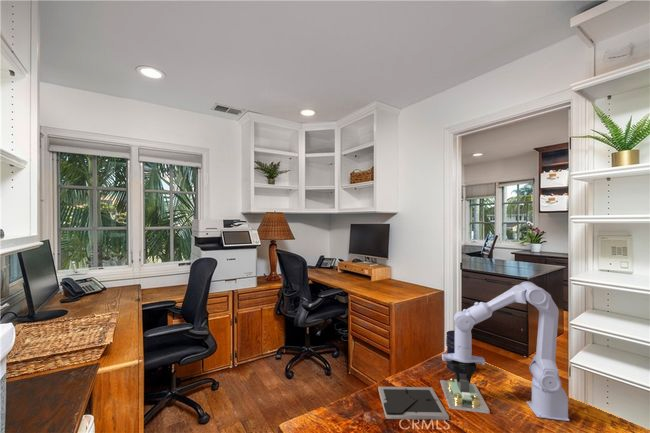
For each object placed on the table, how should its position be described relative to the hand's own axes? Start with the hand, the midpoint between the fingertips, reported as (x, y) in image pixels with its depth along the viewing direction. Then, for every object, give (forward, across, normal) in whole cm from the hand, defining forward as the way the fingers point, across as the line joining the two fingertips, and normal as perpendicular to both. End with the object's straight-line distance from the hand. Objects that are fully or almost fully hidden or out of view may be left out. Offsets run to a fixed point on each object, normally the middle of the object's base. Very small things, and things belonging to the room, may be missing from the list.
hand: (462, 381), depth 106 cm
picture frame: (+7, +20, +8) cm, 22 cm away
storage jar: (+6, -4, -21) cm, 22 cm away
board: (+3, 0, 0) cm, 3 cm away
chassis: (+6, 0, 0) cm, 6 cm away
